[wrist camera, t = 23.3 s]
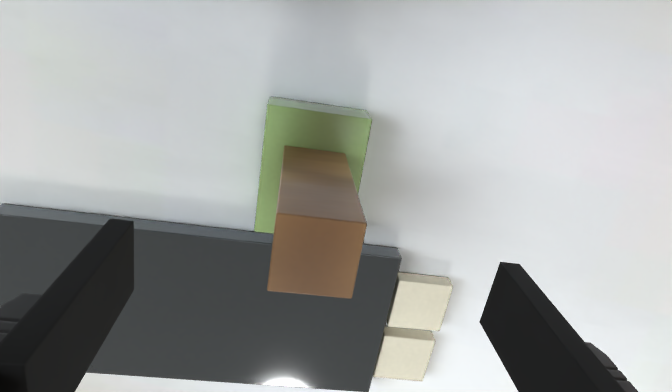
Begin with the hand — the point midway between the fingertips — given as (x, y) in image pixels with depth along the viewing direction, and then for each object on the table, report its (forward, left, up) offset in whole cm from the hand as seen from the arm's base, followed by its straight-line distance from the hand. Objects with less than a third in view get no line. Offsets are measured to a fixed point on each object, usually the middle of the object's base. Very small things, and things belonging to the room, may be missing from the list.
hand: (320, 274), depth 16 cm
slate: (-2, -13, -14) cm, 19 cm away
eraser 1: (+12, -6, -14) cm, 20 cm away
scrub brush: (0, -1, -14) cm, 14 cm away
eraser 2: (+13, -11, -14) cm, 22 cm away
